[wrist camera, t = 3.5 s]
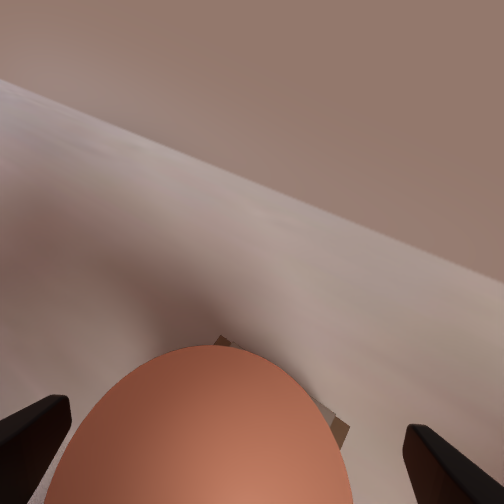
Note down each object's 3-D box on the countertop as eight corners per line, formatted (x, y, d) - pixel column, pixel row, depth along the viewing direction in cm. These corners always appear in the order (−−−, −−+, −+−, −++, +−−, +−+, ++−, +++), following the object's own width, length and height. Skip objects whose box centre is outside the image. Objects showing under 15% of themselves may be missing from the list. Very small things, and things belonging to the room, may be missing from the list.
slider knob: (256, 538, 11) (260, 1210, 2) (171, 459, 13) (-100, 568, 3) (308, 431, 13) (453, 449, 4) (229, 372, 15) (177, 267, 5)
